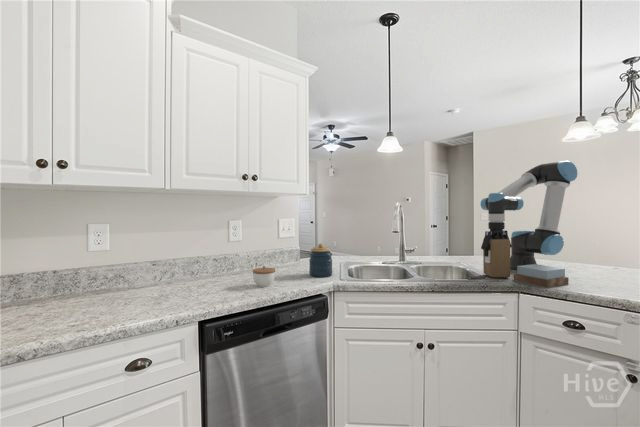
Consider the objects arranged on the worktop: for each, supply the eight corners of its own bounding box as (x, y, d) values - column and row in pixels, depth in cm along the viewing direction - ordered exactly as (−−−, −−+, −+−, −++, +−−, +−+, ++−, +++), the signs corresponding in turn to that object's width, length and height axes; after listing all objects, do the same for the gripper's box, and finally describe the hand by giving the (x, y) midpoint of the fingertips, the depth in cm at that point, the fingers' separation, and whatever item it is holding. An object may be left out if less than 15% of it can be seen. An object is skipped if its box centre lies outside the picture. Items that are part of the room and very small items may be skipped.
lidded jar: (264, 289, 141) (264, 269, 141) (248, 286, 147) (247, 266, 146) (279, 284, 150) (279, 265, 150) (263, 281, 156) (263, 263, 156)
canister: (327, 272, 179) (327, 242, 179) (335, 276, 167) (335, 244, 167) (306, 273, 175) (306, 242, 175) (313, 278, 163) (312, 245, 163)
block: (501, 273, 169) (501, 237, 169) (511, 278, 159) (511, 239, 159) (482, 273, 170) (482, 237, 170) (491, 277, 160) (491, 239, 160)
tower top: (534, 271, 161) (534, 264, 161) (564, 276, 148) (564, 268, 148) (517, 274, 155) (517, 266, 155) (546, 279, 143) (547, 271, 143)
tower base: (534, 278, 162) (534, 271, 162) (568, 285, 148) (568, 277, 148) (513, 281, 156) (513, 273, 156) (546, 288, 142) (546, 280, 142)
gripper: (506, 220, 172) (506, 258, 172) (473, 222, 163) (473, 262, 163) (519, 221, 165) (519, 260, 165) (485, 222, 156) (485, 264, 156)
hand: (496, 261), depth 164 cm, fingers closed on block, 12 cm apart
